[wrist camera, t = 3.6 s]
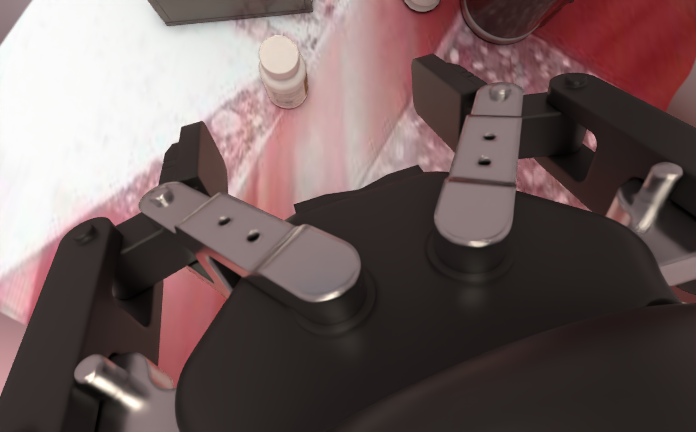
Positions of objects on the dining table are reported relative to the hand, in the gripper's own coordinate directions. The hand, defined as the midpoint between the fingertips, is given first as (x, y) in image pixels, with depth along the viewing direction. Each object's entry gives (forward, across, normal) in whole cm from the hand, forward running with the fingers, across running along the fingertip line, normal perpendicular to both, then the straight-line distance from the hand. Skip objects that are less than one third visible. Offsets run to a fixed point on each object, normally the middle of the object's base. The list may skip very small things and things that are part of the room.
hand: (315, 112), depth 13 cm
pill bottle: (+26, 0, +9) cm, 27 cm away
